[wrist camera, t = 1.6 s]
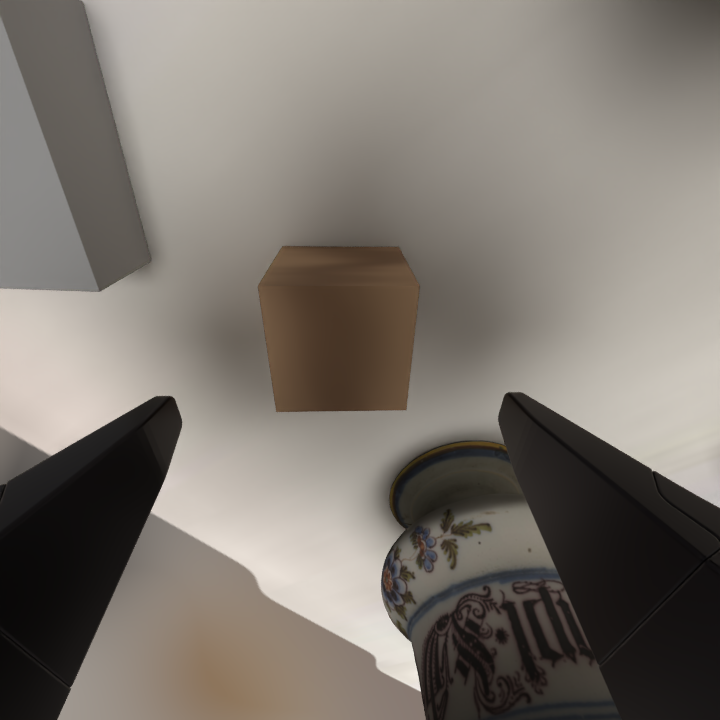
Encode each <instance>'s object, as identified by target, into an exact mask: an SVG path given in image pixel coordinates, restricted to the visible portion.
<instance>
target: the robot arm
mask: <svg viewBox="0 0 720 720" xmlns="http://www.w3.org/2000/svg"><path fill="white" fill-rule="evenodd" d="M498 422H499V426H500V429H501V432H502V436H503V439H504V442H505V445H506V449H507V452H508V455H509V458H510V462H511V465H512V468H513V471H514V473H515V476H516V478H517V481H518V483H519V485H520V488H521V490H522V492H523V494H524V497H525V499H526V501H527V504H528V506H529V508H530V510H531V513H532V515H533V517H534V520H535V522H536V524H537V527H538V529H539V531H540V533H541V536H542V538H543V540H544V543H545V545H546V547H547V549H548V552H549V554H550V556H551V559H552V561H553V563H554V565H555V568H556V570H557V572H558V575H559V577H560V579H561V582H562V584H563V586H564V588H565V591H566V593H567V595H568V598H569V600H570V602H571V604H572V607H573V609H574V611H575V614H576V616H577V618H578V621H579V623H580V625H581V627H582V630H583V632H584V634H585V637H586V639H587V641H588V643H589V646H590V648H591V650H592V653H593V655H594V657H595V659H596V662H597V664H598V665H600V666H599V669H600V672H601V674H602V676H603V678H604V681H605V683H606V685H607V688H608V690H609V692H610V695H611V697H612V699H613V701H614V704H615V706H616V708H617V711H618V713H619V715H620V717H621V720H720V508H719V507H717V506H715V505H713V504H711V503H710V502H708V501H706V500H704V499H702V498H700V497H699V496H697V495H695V494H693V493H692V492H690V491H688V490H686V489H685V488H683V487H681V486H679V485H678V484H676V483H674V482H672V481H671V480H669V479H667V478H666V477H664V476H662V475H661V474H659V473H657V472H656V471H653V472H652V470H651V469H650V468H649V467H647V466H645V465H644V464H642V463H640V462H639V461H637V460H635V459H634V458H632V457H630V456H629V455H627V454H625V453H623V452H622V451H620V450H618V449H617V448H615V447H613V446H612V445H610V444H608V443H607V442H605V441H603V440H601V439H600V438H598V437H596V436H595V435H593V434H591V433H590V432H588V431H586V430H585V429H583V428H581V427H579V426H578V425H576V424H574V423H573V422H571V421H569V420H568V419H566V418H564V417H563V416H561V415H559V414H558V413H556V412H554V411H552V410H551V409H549V408H547V407H546V406H544V405H542V404H541V403H539V402H537V401H536V400H534V399H532V398H530V397H529V396H527V395H525V394H524V393H521V392H508V393H506V394H505V396H504V398H503V402H502V405H501V408H500V412H499V416H498ZM181 428H182V419H181V415H180V413H179V410H178V407H177V404H176V401H175V399H174V398H173V397H172V396H156V397H154V398H152V399H150V400H148V401H147V402H145V403H143V404H141V405H140V406H138V407H136V408H134V409H133V410H131V411H129V412H127V413H126V414H124V415H122V416H120V417H119V418H117V419H115V420H114V421H112V422H110V423H108V424H107V425H105V426H103V427H101V428H100V429H98V430H96V431H94V432H93V433H91V434H89V435H87V436H86V437H84V438H82V439H80V440H79V441H77V442H75V443H73V444H72V445H70V446H68V447H67V448H65V449H63V450H61V451H60V452H58V453H56V454H54V455H53V456H51V457H49V458H47V459H46V460H44V461H42V462H40V463H39V464H37V465H35V466H34V467H32V468H30V469H28V470H27V471H25V472H23V473H21V474H20V475H18V476H16V477H15V478H13V479H11V480H9V481H8V482H7V484H2V485H0V720H57V719H58V717H59V714H60V712H61V710H62V708H63V705H64V703H65V701H66V699H67V696H68V695H69V692H70V690H71V688H70V687H71V686H72V685H73V683H74V680H75V678H76V676H77V674H78V672H79V669H80V667H81V665H82V663H83V660H84V658H85V656H86V654H87V652H88V649H89V647H90V645H91V642H92V640H93V638H94V636H95V634H96V632H97V629H98V627H99V625H100V622H101V620H102V618H103V616H104V614H105V611H106V609H107V607H108V605H109V602H110V600H111V598H112V596H113V594H114V592H115V589H116V587H117V585H118V582H119V580H120V578H121V576H122V574H123V571H124V569H125V567H126V565H127V562H128V560H129V558H130V556H131V554H132V552H133V549H134V547H135V545H136V543H137V540H138V538H139V536H140V534H141V532H142V529H143V527H144V524H145V523H146V520H147V518H148V516H149V514H150V512H151V509H152V507H153V505H154V503H155V500H156V498H157V496H158V494H159V492H160V489H161V487H162V485H163V482H164V480H165V477H166V475H167V472H168V469H169V466H170V463H171V459H172V456H173V453H174V450H175V447H176V444H177V441H178V438H179V434H180V431H181Z"/></svg>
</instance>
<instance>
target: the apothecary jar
mask: <svg viewBox="0 0 720 720" xmlns="http://www.w3.org/2000/svg"><path fill="white" fill-rule="evenodd" d="M389 501H390V508H391V511H392V513H393V515H394V517H395V518H396V520H397V521H398V522H399V523H400V524H401V525H402V526H403V527H404V528H405V529H406V530H405V531H404V532H403V533H402V534H401V536H400V537H399V538H398V539H397V541H396V542H395V543H394V545H393V546H392V548H391V549H390V551H389V553H388V555H387V557H386V559H385V563H384V566H383V571H382V578H381V592H382V598H383V602H384V605H385V608H386V610H387V612H388V615H389V617H390V619H391V621H392V622H393V624H394V625H395V626H396V627H397V628H398V630H399V631H400V632H401V633H402V634H403V635H404V636H405V637H406V638H407V639H408V640H409V641H411V642H412V647H413V651H414V656H415V662H416V666H417V671H418V676H419V682H420V687H421V693H422V699H423V704H424V711H425V716H426V720H621V717H620V715H619V713H618V711H617V708H616V706H615V704H614V701H613V699H612V697H611V695H610V692H609V690H608V688H607V685H606V683H605V681H604V678H603V676H602V674H601V672H600V669H599V666H600V665H598V664H597V662H596V659H595V657H594V655H593V653H592V650H591V648H590V646H589V643H588V641H587V639H586V637H585V634H584V632H583V630H582V627H581V625H580V623H579V621H578V618H577V616H576V614H575V611H574V609H573V607H572V604H571V602H570V600H569V598H568V595H567V593H566V591H565V588H564V586H563V584H562V582H561V579H560V577H559V575H558V572H557V570H556V568H555V565H554V563H553V561H552V559H551V556H550V554H549V552H548V549H547V547H546V545H545V543H544V540H543V538H542V536H541V533H540V531H539V529H538V527H537V524H536V522H535V520H534V517H533V515H532V513H531V510H530V508H529V506H528V504H527V501H526V499H525V497H524V494H523V492H522V490H521V488H520V485H519V483H518V481H517V478H516V476H515V473H514V471H513V468H512V465H511V462H510V458H509V455H508V452H507V449H506V446H504V445H501V444H497V443H492V442H483V441H469V442H459V443H453V444H449V445H445V446H441V447H438V448H436V449H433V450H431V451H429V452H427V453H426V454H424V455H422V456H420V457H418V458H416V459H415V460H413V461H412V462H411V463H409V464H408V465H407V466H406V467H405V468H404V469H403V470H402V471H401V472H400V474H399V475H398V476H397V478H396V479H395V481H394V483H393V485H392V488H391V491H390V497H389Z"/></svg>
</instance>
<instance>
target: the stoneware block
mask: <svg viewBox="0 0 720 720" xmlns="http://www.w3.org/2000/svg"><path fill="white" fill-rule="evenodd" d="M149 262H151V258H150V254H149V250H148V246H147V242H146V239H145V235H144V231H143V227H142V223H141V220H140V216H139V212H138V208H137V205H136V201H135V197H134V193H133V189H132V186H131V182H130V178H129V174H128V170H127V167H126V163H125V159H124V155H123V151H122V148H121V144H120V140H119V136H118V133H117V129H116V125H115V121H114V117H113V114H112V110H111V106H110V102H109V98H108V95H107V91H106V87H105V83H104V80H103V76H102V72H101V68H100V64H99V61H98V57H97V53H96V49H95V45H94V42H93V38H92V34H91V30H90V26H89V23H88V19H87V15H86V11H85V8H84V4H83V2H82V1H80V0H0V288H3V289H32V290H61V291H90V292H100V291H102V290H103V289H105V288H107V287H109V286H110V285H112V284H114V283H115V282H117V281H119V280H120V279H122V278H124V277H125V276H127V275H129V274H130V273H132V272H134V271H135V270H137V269H139V268H140V267H142V266H144V265H146V264H147V263H149Z"/></svg>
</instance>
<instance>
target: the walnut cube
mask: <svg viewBox="0 0 720 720" xmlns="http://www.w3.org/2000/svg"><path fill="white" fill-rule="evenodd" d="M419 289H420V286H419V284H418V282H417V280H416V278H415V276H414V274H413V273H412V271H411V269H410V267H409V265H408V263H407V261H406V260H405V258H404V256H403V254H402V252H401V250H400V248H399V247H310V246H282V248H281V249H280V251H279V253H278V254H277V256H276V258H275V259H274V261H273V262H272V264H271V266H270V267H269V269H268V270H267V272H266V274H265V275H264V277H263V278H262V280H261V282H260V283H259V285H258V291H259V297H260V304H261V311H262V318H263V325H264V331H265V338H266V345H267V352H268V359H269V365H270V372H271V379H272V386H273V393H274V399H275V406H276V412H302V411H375V410H406V407H407V398H408V389H409V380H410V371H411V362H412V353H413V343H414V334H415V325H416V316H417V307H418V298H419Z"/></svg>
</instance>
